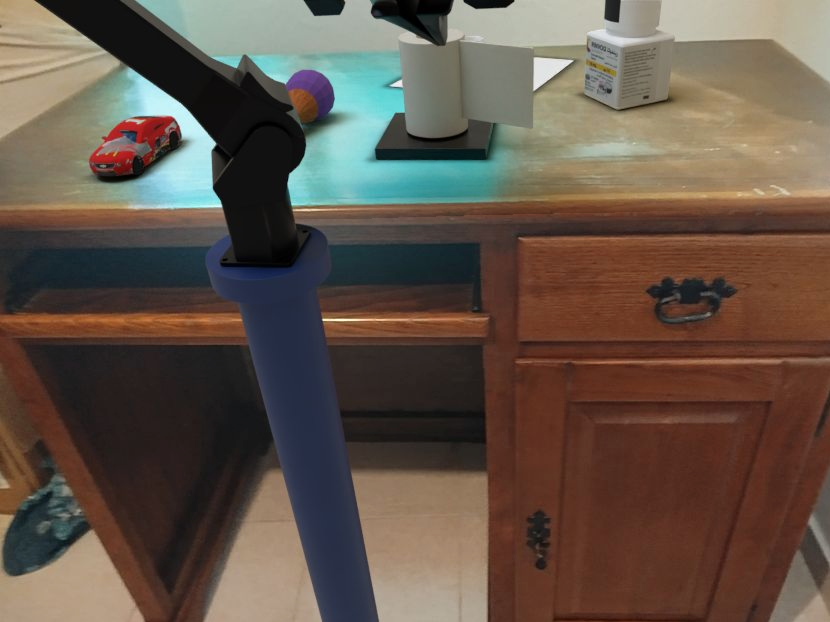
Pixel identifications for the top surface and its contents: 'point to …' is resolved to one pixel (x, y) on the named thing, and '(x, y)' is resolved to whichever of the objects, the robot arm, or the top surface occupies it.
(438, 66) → the towel roll
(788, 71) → the top surface
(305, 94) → the kendama
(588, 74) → the container
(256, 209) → the robot arm
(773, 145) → the top surface
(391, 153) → the holder
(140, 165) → the race car
